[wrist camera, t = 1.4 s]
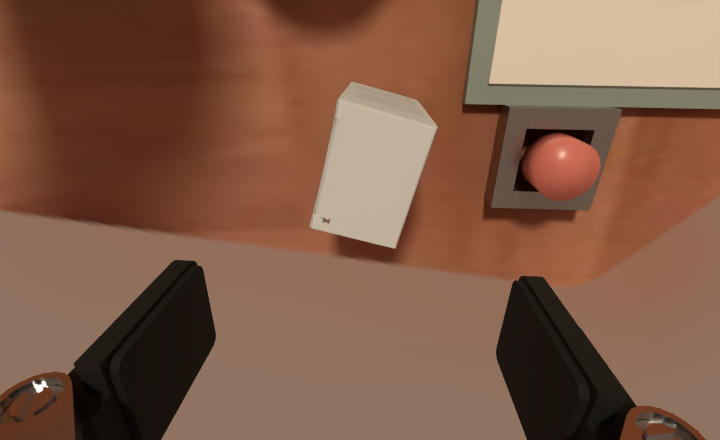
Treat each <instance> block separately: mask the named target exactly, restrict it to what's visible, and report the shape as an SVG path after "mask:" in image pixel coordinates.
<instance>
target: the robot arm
mask: <svg viewBox="0 0 720 440" xmlns="http://www.w3.org/2000/svg"><path fill="white" fill-rule="evenodd" d="M215 338H216V333H215V328H214V323H213V318H212V313H211V308H210V303H209V297H208V292H207V287H206V283H205V277H204V272H203V268H202V267H201V266H198V265H197V263H196V262H195V261H184V260H183V261H182V260H174V261H173V262H172V263H171V264H170V265H169V266H168V267H167V268H166V269H165V270H164V271H163V272H162V273H161V274H160V275H159V276H158V277H157V278H156V279H155V280H154V281H153V282H152V283H151V284H150V285H149V286H148V287H147V288H146V290H144V291H143V293H142V294H141V295H140V296H139V297H138V298H137V299H136V300H135V301H134V302H133V303H132V304H131V305H130V306H129V307H128V308H127V309H126V310H125V311H124V312H123V313H122V314H121V315H120V316H119V317H118V318H117V319H116V320H115V321H114V322H113V324H112V325H111V326H110V327H109V328H108V329H107V330H106V331H105V332H104V333H103V334H102V335H101V336H100V337H99V338H98V339H97V340H96V341H95V342H94V343H93V344H92V345H91V346H90V347H89V348H88V349H87V350H86V352H84V353H83V354H82V356H81V357H79V359H78V360H77V361H76V362H75V363H74V366H75V368H74V369H73V370H72V371H71V372H70V373H69V374H68V375H66V374H65V373H58V372H52V373H43V374H40V375H37V376H33V377H31V378H29V379H26V380H24V381H22V382H19V383H18V384H16V385H15V386H13V387H11V388H10V389H8V390H6V391H5V392H4V393H3V394H2V395H1V396H0V440H161V439H162V437H163V435H164V433H165V432H166V430H167V428H168V426H169V424H170V423H171V421H172V419H173V417H174V415H175V414H176V412H177V410H178V408H179V407H180V405H181V403H182V401H183V399H184V397H185V396H186V394H187V392H188V390H189V389H190V386H191V385H192V383H193V381H194V380H195V378H196V376H197V374H198V372H199V371H200V369H201V367H202V365H203V363H204V362H205V360H206V358H207V356H208V355H209V353H210V351H211V349H212V347H213V345H214V342H215ZM496 356H497V361H498V364H499V366H500V369H501V372H502V374H503V377H504V379H505V382H506V385H507V388H508V390H509V393H510V396H511V398H512V401H513V404H514V406H515V409H516V411H517V414H518V417H519V419H520V422H521V425H522V427H523V430H524V433H525V435H526V438H527V440H705V439H704V437H703V436H702V435H701V434H700V433H699V432H698V431H697V430H696V429H694V428H693V427H692V426H691V425H689V424H688V423H687V422H686V421H684V420H682V419H681V418H679V417H677V416H675V415H674V414H672V413H669V412H667V411H665V410H662V409H660V408H655V407H651V406H636V405H635V403H634V402H633V400H632V399H631V398H630V396H629V395H628V393H627V392H626V391H625V389H624V388H623V387H622V385H621V384H620V382H619V381H618V380H617V378H616V377H615V375H614V374H613V373H612V372H611V370H610V368H609V367H608V366H607V364H606V363H605V361H604V360H603V359H602V357H601V356H600V354H599V353H598V352H597V350H596V349H595V348H594V346H593V345H592V343H591V342H590V341H589V339H588V338H587V336H586V335H585V334H584V332H583V331H582V329H581V328H579V327H578V325H577V324H576V322H575V321H574V319H573V318H572V316H571V315H570V314H569V312H568V311H567V309H566V308H565V307H564V305H563V304H562V303H561V301H560V300H559V299H558V297H557V295H556V294H555V293H554V291H553V290H552V288H551V287H550V286H549V284H548V283H547V282H546V280H545V279H544V278H543V277H535V276H521V277H520V278H519V281H516V280H515V281H514V282H513V284H512V288H511V292H510V296H509V300H508V304H507V308H506V312H505V316H504V320H503V324H502V328H501V332H500V336H499V341H498V344H497V349H496Z"/></svg>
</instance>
